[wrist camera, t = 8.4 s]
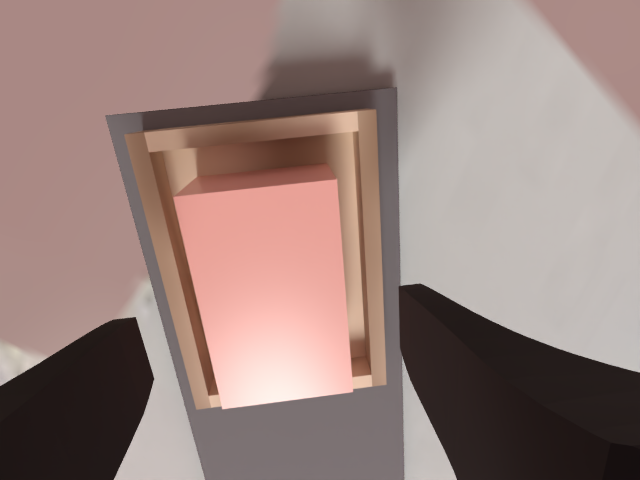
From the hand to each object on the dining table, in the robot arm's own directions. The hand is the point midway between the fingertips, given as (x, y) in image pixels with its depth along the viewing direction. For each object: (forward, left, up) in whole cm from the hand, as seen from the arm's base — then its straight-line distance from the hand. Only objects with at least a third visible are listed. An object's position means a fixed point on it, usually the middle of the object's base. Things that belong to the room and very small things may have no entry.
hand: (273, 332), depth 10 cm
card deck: (0, 0, -5) cm, 5 cm away
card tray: (0, 0, -5) cm, 5 cm away
